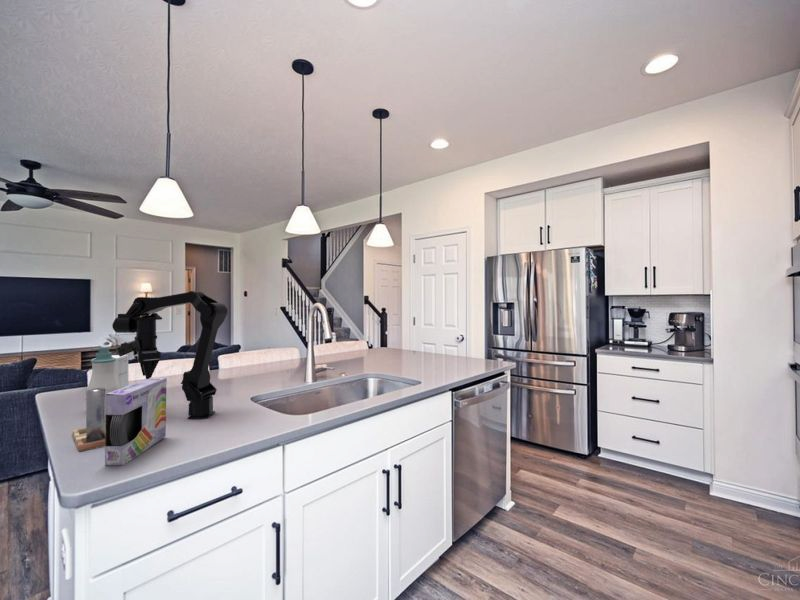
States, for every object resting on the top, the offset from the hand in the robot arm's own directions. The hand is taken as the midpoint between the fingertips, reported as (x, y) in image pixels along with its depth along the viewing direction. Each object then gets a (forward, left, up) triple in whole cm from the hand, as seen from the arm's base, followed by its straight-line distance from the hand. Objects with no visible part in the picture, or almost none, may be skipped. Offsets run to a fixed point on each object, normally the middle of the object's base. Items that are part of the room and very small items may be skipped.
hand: (146, 377), depth 127 cm
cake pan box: (-16, +33, -13) cm, 39 cm away
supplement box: (+30, -29, -13) cm, 44 cm away
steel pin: (-1, +26, -13) cm, 29 cm away
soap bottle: (+19, -8, -13) cm, 25 cm away
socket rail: (+2, +22, -13) cm, 26 cm away
